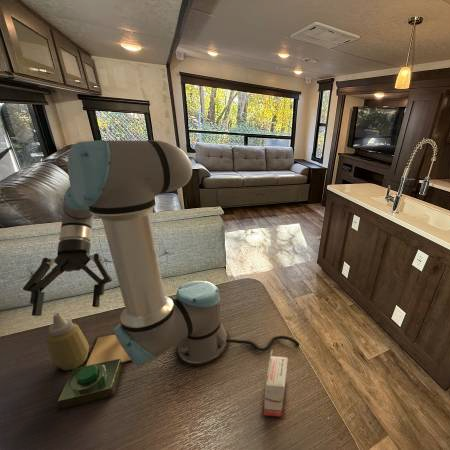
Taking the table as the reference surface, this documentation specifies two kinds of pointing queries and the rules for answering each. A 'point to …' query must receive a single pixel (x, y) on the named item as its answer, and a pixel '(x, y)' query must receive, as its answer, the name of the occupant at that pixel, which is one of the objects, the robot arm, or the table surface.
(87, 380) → the button
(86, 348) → the squeeze bottle
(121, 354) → the oak mat
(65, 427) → the table surface
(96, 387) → the green buzzer pad
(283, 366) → the ink cartridge box
